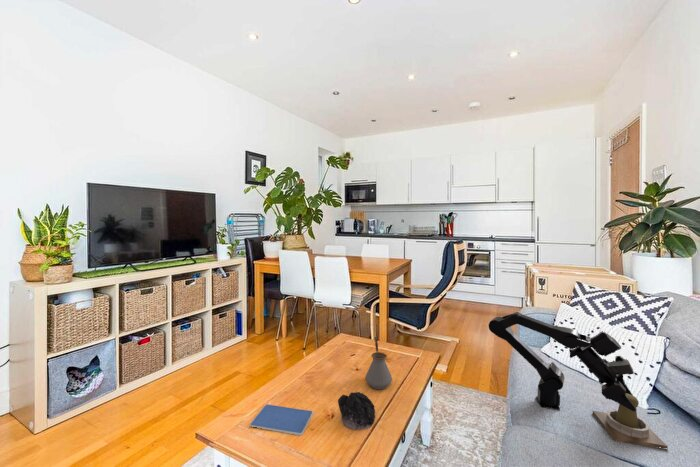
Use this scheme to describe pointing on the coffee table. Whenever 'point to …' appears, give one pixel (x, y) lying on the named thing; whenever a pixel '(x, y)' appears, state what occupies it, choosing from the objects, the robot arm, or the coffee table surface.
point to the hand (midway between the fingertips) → (633, 404)
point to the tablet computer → (282, 419)
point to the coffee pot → (378, 371)
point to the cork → (628, 414)
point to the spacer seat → (628, 430)
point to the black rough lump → (356, 411)
